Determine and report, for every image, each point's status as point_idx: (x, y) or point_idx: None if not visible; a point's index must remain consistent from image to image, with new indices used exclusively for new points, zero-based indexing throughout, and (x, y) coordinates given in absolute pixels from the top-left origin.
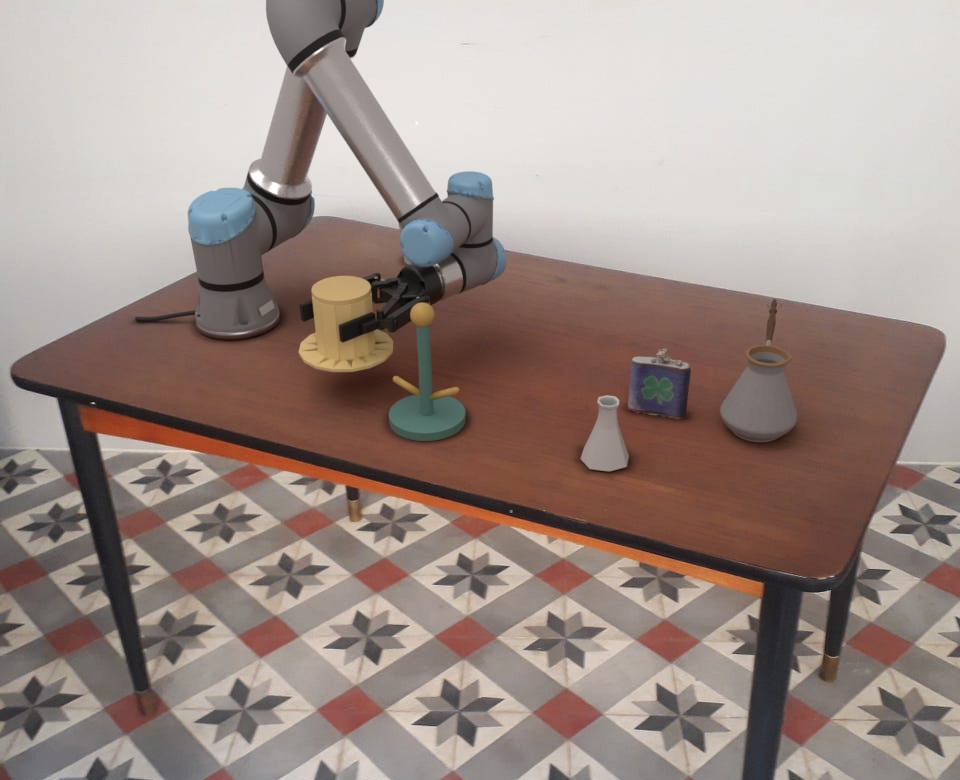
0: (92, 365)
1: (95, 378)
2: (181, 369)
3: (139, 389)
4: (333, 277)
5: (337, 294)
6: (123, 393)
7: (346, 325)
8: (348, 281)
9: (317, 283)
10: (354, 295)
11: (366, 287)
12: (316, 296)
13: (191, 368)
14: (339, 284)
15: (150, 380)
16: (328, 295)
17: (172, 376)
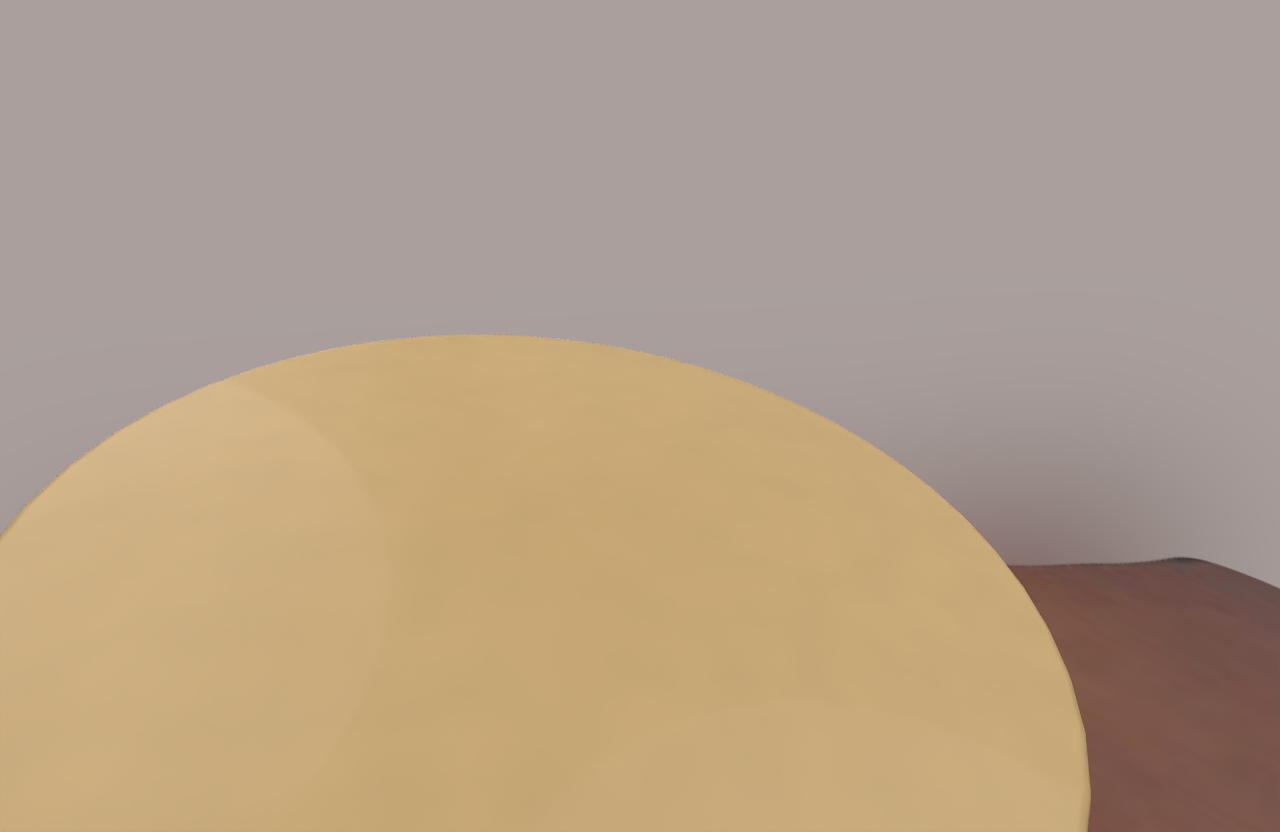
0: (1258, 655)
1: (1159, 614)
2: (1157, 760)
3: (1045, 619)
4: (1031, 707)
5: (503, 389)
6: (1037, 593)
7: None
8: (661, 696)
9: (917, 493)
10: (269, 406)
11: (75, 631)
12: (657, 356)
13: (1156, 785)
14: (690, 550)
15: (1096, 664)
16: (573, 367)
17: (1104, 710)
